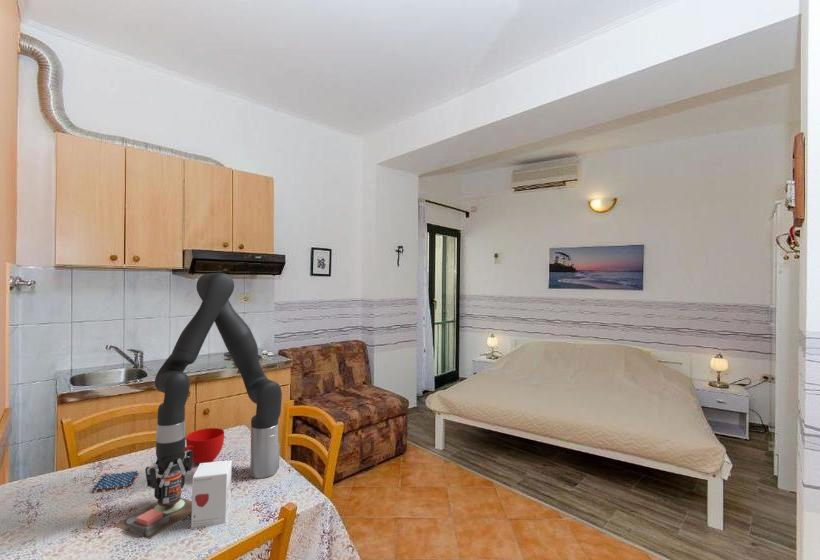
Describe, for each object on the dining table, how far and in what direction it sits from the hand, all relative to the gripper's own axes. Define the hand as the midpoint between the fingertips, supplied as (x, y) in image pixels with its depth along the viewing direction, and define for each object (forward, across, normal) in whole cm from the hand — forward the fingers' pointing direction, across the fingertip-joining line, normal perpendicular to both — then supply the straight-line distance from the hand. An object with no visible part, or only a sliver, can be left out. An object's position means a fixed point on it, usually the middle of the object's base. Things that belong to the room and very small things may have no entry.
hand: (169, 493), depth 117 cm
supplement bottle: (+3, 0, 0) cm, 3 cm away
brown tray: (+5, -4, -2) cm, 6 cm away
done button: (+3, -9, -4) cm, 10 cm away
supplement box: (+5, +1, -16) cm, 17 cm away
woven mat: (+6, +4, +30) cm, 31 cm away
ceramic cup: (+5, +26, +18) cm, 32 cm away
